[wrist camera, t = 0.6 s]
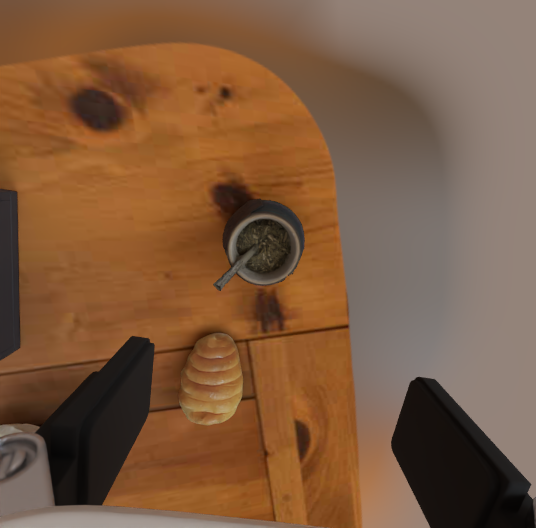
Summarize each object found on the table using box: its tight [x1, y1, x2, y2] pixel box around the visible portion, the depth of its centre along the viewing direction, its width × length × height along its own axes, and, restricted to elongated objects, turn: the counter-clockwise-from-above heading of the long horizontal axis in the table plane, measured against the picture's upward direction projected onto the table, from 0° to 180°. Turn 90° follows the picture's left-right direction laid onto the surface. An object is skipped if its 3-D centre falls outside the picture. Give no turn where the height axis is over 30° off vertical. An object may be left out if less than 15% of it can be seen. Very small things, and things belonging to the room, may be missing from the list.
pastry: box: [178, 333, 243, 425], centre depth 30 cm, size 9×7×4 cm
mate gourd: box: [213, 199, 305, 291], centre depth 24 cm, size 7×8×10 cm
